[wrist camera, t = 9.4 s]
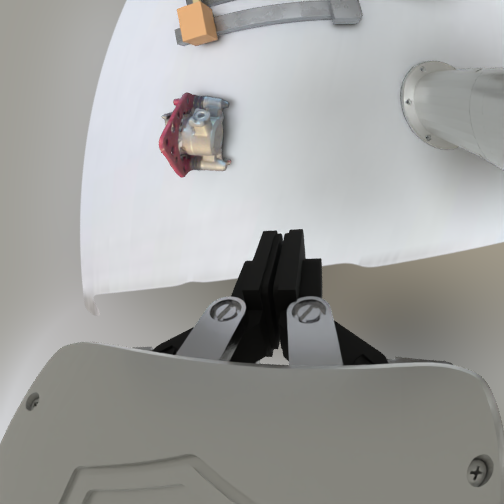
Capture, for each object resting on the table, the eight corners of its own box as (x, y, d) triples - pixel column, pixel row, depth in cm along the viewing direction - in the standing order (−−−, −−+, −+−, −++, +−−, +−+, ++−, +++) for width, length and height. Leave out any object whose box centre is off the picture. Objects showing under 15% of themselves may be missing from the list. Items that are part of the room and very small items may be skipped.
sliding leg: (206, -26, 21) (192, -38, 17) (220, 40, 27) (206, 34, 23) (186, -19, 22) (170, -30, 18) (198, 46, 28) (182, 41, 24)
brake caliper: (150, 93, 31) (161, 94, 23) (223, 92, 36) (260, 96, 27) (150, 167, 38) (161, 196, 29) (218, 161, 42) (250, 187, 34)
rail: (356, 4, 21) (358, 0, 20) (360, 19, 23) (362, 15, 21) (181, 32, 28) (174, 29, 26) (183, 45, 29) (177, 44, 27)
